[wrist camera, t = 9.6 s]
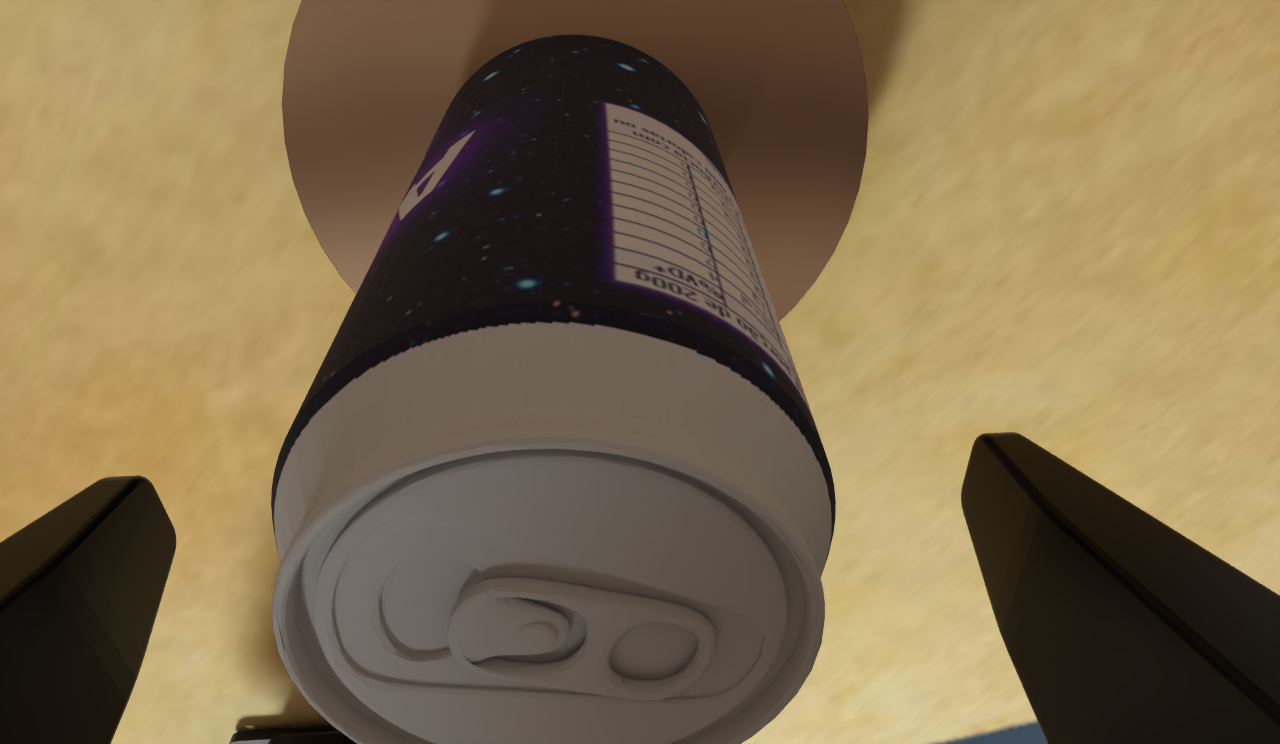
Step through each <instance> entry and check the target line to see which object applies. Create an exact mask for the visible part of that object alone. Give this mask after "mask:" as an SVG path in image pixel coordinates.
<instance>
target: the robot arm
mask: <svg viewBox="0 0 1280 744" xmlns="http://www.w3.org/2000/svg"><path fill="white" fill-rule="evenodd" d="M961 503H962V509H963V513H964V516H965V520H966V523H967V526H968V530H969V533H970V536H971V539H972V543H973V546H974V549H975V553H976V556H977V559H978V563H979V566H980V569H981V573H982V576H983V579H984V582H985V586H986V589H987V592H988V596H989V599H990V602H991V606H992V609H993V612H994V615H995V618H996V621H997V624H998V627H999V630H1000V633H1001V636H1002V638H1003V641H1004V643H1005V646H1006V648H1007V651H1008V653H1009V656H1010V658H1011V660H1012V662H1013V665H1014V667H1015V669H1016V672H1017V674H1018V676H1019V679H1020V681H1021V683H1022V686H1023V688H1024V690H1025V693H1026V695H1027V697H1028V699H1029V702H1030V704H1031V706H1032V709H1033V711H1034V713H1035V716H1036V718H1037V720H1038V723H1039V725H1040V727H1041V729H1042V732H1043V734H1044V736H1045V739H1046V741H1047V743H1048V744H1280V595H1278V594H1276V593H1275V592H1273V591H1271V590H1270V589H1268V588H1267V587H1265V586H1263V585H1262V584H1260V583H1259V582H1257V581H1255V580H1254V579H1252V578H1251V577H1249V576H1247V575H1246V574H1244V573H1243V572H1241V571H1239V570H1238V569H1236V568H1235V567H1233V566H1231V565H1230V564H1228V563H1227V562H1225V561H1223V560H1222V559H1220V558H1218V557H1217V556H1215V555H1214V554H1212V553H1210V552H1209V551H1207V550H1206V549H1204V548H1202V547H1201V546H1199V545H1198V544H1196V543H1194V542H1193V541H1191V540H1190V539H1188V538H1186V537H1185V536H1183V535H1182V534H1180V533H1178V532H1177V531H1175V530H1174V529H1172V528H1170V527H1169V526H1167V525H1165V524H1164V523H1162V522H1161V521H1159V520H1157V519H1156V518H1154V517H1153V516H1151V515H1149V514H1148V513H1146V512H1145V511H1143V510H1141V509H1140V508H1138V507H1137V506H1135V505H1133V504H1132V503H1130V502H1129V501H1127V500H1125V499H1124V498H1122V497H1121V496H1119V495H1117V494H1116V493H1114V492H1113V491H1111V490H1109V489H1108V488H1106V487H1104V486H1103V485H1101V484H1100V483H1098V482H1096V481H1095V480H1093V479H1092V478H1090V477H1088V476H1087V475H1085V474H1084V473H1082V472H1080V471H1079V470H1077V469H1076V468H1074V467H1072V466H1071V465H1069V464H1068V463H1066V462H1064V461H1063V460H1061V459H1060V458H1058V457H1056V456H1055V455H1053V454H1051V453H1050V452H1048V451H1047V450H1045V449H1043V448H1042V447H1040V446H1039V445H1037V444H1035V443H1034V442H1032V441H1031V440H1029V439H1027V438H1026V437H1024V436H1022V435H1020V434H1018V433H1014V432H1004V433H985V434H982V435H980V436H978V437H977V438H976V440H975V442H974V444H973V447H972V451H971V455H970V459H969V462H968V466H967V470H966V474H965V478H964V482H963V486H962V491H961ZM175 549H176V534H175V530H174V527H173V525H172V523H171V521H170V519H169V517H168V515H167V513H166V510H165V508H164V506H163V504H162V502H161V500H160V498H159V496H158V494H157V492H156V490H155V488H154V486H153V485H152V483H151V482H150V481H149V480H148V479H147V478H145V477H142V476H118V477H107V478H103V479H100V480H99V481H97V482H95V483H94V484H92V485H91V486H89V487H87V488H86V489H84V490H83V491H81V492H79V493H78V494H76V495H75V496H73V497H72V498H70V499H68V500H67V501H65V502H64V503H62V504H61V505H59V506H57V507H56V508H54V509H53V510H51V511H49V512H48V513H46V514H45V515H43V516H42V517H40V518H38V519H37V520H35V521H34V522H32V523H31V524H29V525H27V526H26V527H24V528H23V529H21V530H19V531H18V532H16V533H15V534H13V535H12V536H10V537H8V538H7V539H5V540H4V541H2V542H1V543H0V744H111V741H112V739H113V737H114V734H115V732H116V729H117V727H118V725H119V722H120V720H121V717H122V715H123V713H124V710H125V708H126V705H127V703H128V701H129V698H130V695H131V693H132V690H133V688H134V685H135V682H136V680H137V677H138V674H139V671H140V668H141V665H142V662H143V659H144V656H145V652H146V649H147V646H148V642H149V639H150V635H151V632H152V629H153V625H154V622H155V618H156V615H157V612H158V608H159V605H160V601H161V598H162V595H163V591H164V588H165V584H166V581H167V578H168V574H169V571H170V567H171V564H172V561H173V557H174V554H175ZM229 744H357V743H356V742H354V741H353V740H351V739H350V738H349V737H347V736H346V735H344V734H343V733H342V732H340V731H339V730H337V729H336V728H335V727H333V726H330V727H312V728H294V729H277V730H259V731H242V732H237V733H235V734H233V736H232V738H231V741H230V743H229Z"/></svg>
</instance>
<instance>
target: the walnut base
mask: <svg viewBox="0 0 1280 744" xmlns="http://www.w3.org/2000/svg"><path fill="white" fill-rule="evenodd" d="M569 34H572V35H589V36H597V37H602V38H607V39H611V40H615V41H618V42H621V43H624V44H627V45H629V46H632V47H634V48H636V49H638V50H640V51H642V52H644V53H646V54H648V55H649V56H651V57H653V58H654V59H656V60H657V61H659V62H660V63H662V64H663V65H664V66H665V67H667V68H668V69H669V70H670V71H672V72H673V73H674V74H675V75H676V76H677V77H678V78H679V79H680V80H681V81H682V82H683V83H684V84H685V86H686V87H687V88H688V89H689V90H690V92H691V93H692V94H693V96H694V97H695V98H696V100H697V102H698V103H699V105H700V106H701V108H702V110H703V112H704V114H705V116H706V118H707V120H708V122H709V125H710V127H711V130H712V133H713V135H714V138H715V141H716V144H717V147H718V150H719V152H720V155H721V158H722V161H723V164H724V167H725V169H726V172H727V175H728V178H729V181H730V184H731V187H732V189H733V192H734V195H735V198H736V201H737V204H738V206H739V209H740V212H741V215H742V218H743V221H744V223H745V226H746V229H747V232H748V235H749V238H750V240H751V243H752V246H753V249H754V252H755V255H756V258H757V260H758V263H759V266H760V269H761V272H762V275H763V277H764V280H765V283H766V286H767V289H768V292H769V294H770V297H771V300H772V303H773V306H774V309H775V311H776V314H777V317H778V320H779V321H780V320H781V319H782V318H783V317H784V316H786V315H787V314H788V313H789V312H790V311H791V310H792V309H793V308H794V307H795V306H796V304H797V303H798V302H799V301H800V300H801V298H802V297H803V296H804V295H805V293H806V292H807V291H808V290H809V289H810V287H811V286H812V285H813V284H814V283H815V281H816V280H817V278H818V277H819V275H820V273H821V272H822V270H823V269H824V267H825V266H826V264H827V262H828V261H829V259H830V258H831V256H832V255H833V253H834V251H835V249H836V247H837V245H838V242H839V240H840V238H841V236H842V234H843V232H844V230H845V228H846V226H847V224H848V221H849V218H850V215H851V212H852V209H853V206H854V203H855V200H856V197H857V194H858V191H859V187H860V182H861V177H862V172H863V167H864V161H865V156H866V146H867V129H868V106H867V92H866V79H865V74H864V69H863V64H862V60H861V55H860V50H859V45H858V41H857V38H856V35H855V32H854V29H853V26H852V24H851V21H850V18H849V15H848V13H847V10H846V7H845V4H844V2H843V0H302V1H301V4H300V7H299V9H298V12H297V15H296V18H295V20H294V23H293V26H292V31H291V36H290V41H289V45H288V50H287V55H286V60H285V65H284V81H283V96H282V110H283V124H284V137H285V145H286V150H287V155H288V159H289V164H290V169H291V173H292V178H293V182H294V184H295V187H296V190H297V193H298V196H299V199H300V201H301V204H302V207H303V210H304V213H305V215H306V217H307V219H308V221H309V223H310V225H311V227H312V229H313V231H314V233H315V235H316V237H317V239H318V241H319V243H320V245H321V247H322V249H323V250H324V252H325V253H326V255H327V256H328V258H329V259H330V261H331V262H332V264H333V265H334V267H335V268H336V270H337V271H338V273H339V274H340V276H341V277H342V278H343V280H344V281H345V282H346V283H347V284H348V286H349V287H350V288H351V289H352V290H353V291H354V293H355V294H357V292H358V290H359V288H360V286H361V284H362V282H363V280H364V278H365V276H366V274H367V272H368V270H369V268H370V266H371V263H372V261H373V259H374V257H375V255H376V253H377V251H378V249H379V247H380V245H381V243H382V241H383V239H384V237H385V235H386V233H387V231H388V229H389V227H390V225H391V223H392V221H393V219H394V217H395V215H396V213H397V211H398V209H399V207H400V205H401V203H402V200H403V198H404V196H405V194H406V192H407V190H408V188H409V186H410V184H411V182H412V180H413V178H414V176H415V174H416V172H417V170H418V168H419V166H420V164H421V162H422V160H423V158H424V156H425V154H426V152H427V150H428V148H429V146H430V144H431V142H432V140H433V138H434V135H435V133H436V131H437V129H438V127H439V125H440V123H441V121H442V119H443V117H444V115H445V113H446V111H447V109H448V107H449V105H450V104H451V102H452V100H453V99H454V97H455V96H456V94H457V92H458V91H459V90H460V89H461V87H462V86H463V85H464V83H465V82H466V81H467V80H468V79H469V78H470V77H471V76H472V75H473V74H474V73H475V72H476V71H477V70H478V69H479V68H480V67H482V66H483V65H484V64H486V63H487V62H488V61H490V60H491V59H493V58H494V57H496V56H497V55H499V54H500V53H502V52H504V51H506V50H508V49H510V48H512V47H515V46H517V45H519V44H522V43H525V42H528V41H531V40H534V39H539V38H543V37H549V36H556V35H569Z"/></svg>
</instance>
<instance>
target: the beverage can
mask: <svg viewBox="0 0 1280 744" xmlns="http://www.w3.org/2000/svg"><path fill="white" fill-rule="evenodd" d="M835 504H836V501H835V491H834V483H833V478H832V473H831V469H830V466H829V463H828V460H827V457H826V453H825V451H824V448H823V445H822V442H821V439H820V436H819V434H818V431H817V428H816V425H815V422H814V419H813V417H812V414H811V411H810V408H809V405H808V402H807V399H806V397H805V394H804V391H803V388H802V385H801V382H800V380H799V377H798V374H797V371H796V368H795V365H794V363H793V360H792V357H791V354H790V351H789V348H788V346H787V343H786V340H785V337H784V334H783V331H782V328H781V326H780V323H779V320H778V317H777V314H776V311H775V309H774V306H773V303H772V300H771V297H770V294H769V292H768V289H767V286H766V283H765V280H764V277H763V275H762V272H761V269H760V266H759V263H758V260H757V258H756V255H755V252H754V249H753V246H752V243H751V240H750V238H749V235H748V232H747V229H746V226H745V223H744V221H743V218H742V215H741V212H740V209H739V206H738V204H737V201H736V198H735V195H734V192H733V189H732V187H731V184H730V181H729V178H728V175H727V172H726V169H725V167H724V164H723V161H722V158H721V155H720V152H719V150H718V147H717V144H716V141H715V138H714V135H713V133H712V130H711V127H710V125H709V122H708V120H707V118H706V116H705V114H704V112H703V110H702V108H701V106H700V105H699V103H698V102H697V100H696V98H695V97H694V96H693V94H692V93H691V92H690V90H689V89H688V88H687V87H686V86H685V84H684V83H683V82H682V81H681V80H680V79H679V78H678V77H677V76H676V75H675V74H674V73H673V72H672V71H670V70H669V69H668V68H667V67H665V66H664V65H663V64H662V63H660V62H659V61H657V60H656V59H654V58H653V57H651V56H649V55H648V54H646V53H644V52H642V51H640V50H638V49H636V48H634V47H632V46H629V45H627V44H624V43H621V42H618V41H615V40H611V39H607V38H602V37H597V36H589V35H572V34H569V35H556V36H549V37H543V38H539V39H534V40H531V41H528V42H525V43H522V44H519V45H517V46H515V47H512V48H510V49H508V50H506V51H504V52H502V53H500V54H499V55H497V56H496V57H494V58H493V59H491V60H490V61H488V62H487V63H486V64H484V65H483V66H482V67H480V68H479V69H478V70H477V71H476V72H475V73H474V74H473V75H472V76H471V77H470V78H469V79H468V80H467V81H466V82H465V83H464V85H463V86H462V87H461V89H460V90H459V91H458V92H457V94H456V96H455V97H454V99H453V100H452V102H451V104H450V105H449V107H448V109H447V111H446V113H445V115H444V117H443V119H442V121H441V123H440V125H439V127H438V129H437V131H436V133H435V135H434V138H433V140H432V142H431V144H430V146H429V148H428V150H427V152H426V154H425V156H424V158H423V160H422V162H421V164H420V166H419V168H418V170H417V172H416V174H415V176H414V178H413V180H412V182H411V184H410V186H409V188H408V190H407V192H406V194H405V196H404V198H403V200H402V203H401V205H400V207H399V209H398V211H397V213H396V215H395V217H394V219H393V221H392V223H391V225H390V227H389V229H388V231H387V233H386V235H385V237H384V239H383V241H382V243H381V245H380V247H379V249H378V251H377V253H376V255H375V257H374V259H373V261H372V263H371V266H370V268H369V270H368V272H367V274H366V276H365V278H364V280H363V282H362V284H361V286H360V288H359V290H358V292H357V294H356V296H355V298H354V300H353V302H352V304H351V306H350V308H349V310H348V312H347V314H346V316H345V318H344V320H343V322H342V324H341V326H340V328H339V331H338V333H337V335H336V337H335V339H334V341H333V343H332V345H331V347H330V349H329V351H328V353H327V355H326V357H325V359H324V361H323V363H322V365H321V367H320V369H319V371H318V373H317V375H316V377H315V379H314V381H313V383H312V385H311V387H310V389H309V391H308V394H307V396H306V398H305V400H304V402H303V404H302V406H301V408H300V410H299V412H298V414H297V416H296V418H295V420H294V422H293V424H292V426H291V428H290V430H289V432H288V434H287V436H286V438H285V441H284V443H283V446H282V448H281V451H280V453H279V456H278V460H277V464H276V467H275V471H274V477H273V484H272V499H271V507H272V520H273V528H274V534H275V539H276V544H277V548H278V552H279V556H280V560H281V564H280V567H279V570H278V573H277V577H276V580H275V585H274V591H273V602H272V625H273V630H274V634H275V639H276V644H277V649H278V653H279V655H280V657H281V659H282V661H283V663H284V665H285V668H286V670H287V672H288V674H289V676H290V678H291V680H292V681H293V682H294V684H295V685H296V686H297V688H298V689H299V690H300V692H301V693H302V695H303V696H304V697H305V699H306V700H307V701H308V703H309V704H310V705H311V706H312V707H313V708H314V709H315V710H316V711H317V712H318V713H319V714H320V715H321V716H323V717H324V718H325V719H326V720H327V721H328V722H329V723H330V724H331V725H332V726H333V727H335V728H336V729H337V730H339V731H340V732H342V733H343V734H344V735H346V736H347V737H349V738H350V739H351V740H353V741H354V742H356V743H357V744H741V743H742V742H744V741H746V740H747V739H749V738H751V737H752V736H753V735H755V734H756V733H757V732H758V731H759V730H761V729H762V728H763V727H764V726H766V725H767V724H768V723H769V722H771V721H772V720H773V719H774V718H775V717H776V716H777V715H778V714H779V713H780V712H781V711H782V710H783V709H784V707H785V706H786V705H787V704H788V703H789V702H790V701H791V700H792V699H793V698H794V696H795V695H796V694H797V693H798V691H799V689H800V688H801V686H802V685H803V683H804V681H805V680H806V678H807V677H808V675H809V673H810V672H811V670H812V668H813V665H814V662H815V659H816V657H817V654H818V651H819V649H820V646H821V642H822V635H823V627H824V619H825V601H824V593H823V587H822V583H821V579H820V578H821V575H822V572H823V569H824V567H825V564H826V561H827V558H828V554H829V550H830V546H831V541H832V537H833V532H834V524H835Z"/></svg>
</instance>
